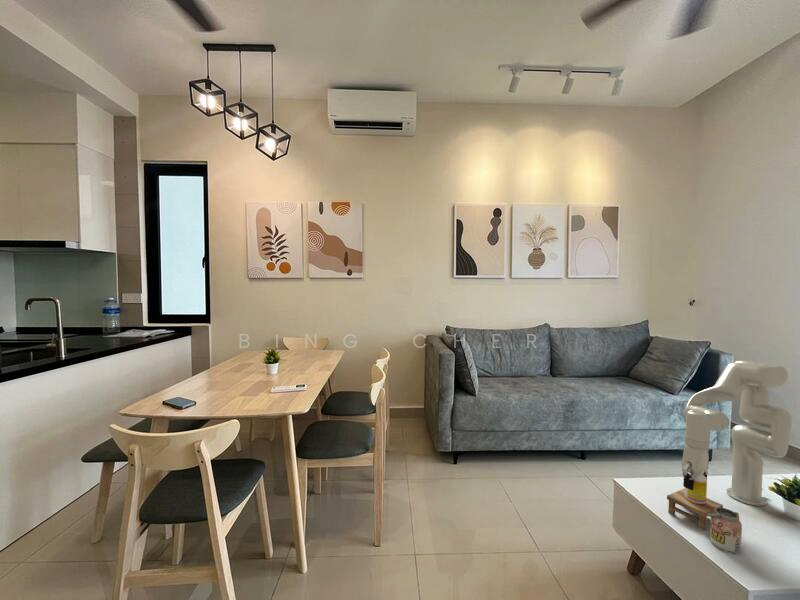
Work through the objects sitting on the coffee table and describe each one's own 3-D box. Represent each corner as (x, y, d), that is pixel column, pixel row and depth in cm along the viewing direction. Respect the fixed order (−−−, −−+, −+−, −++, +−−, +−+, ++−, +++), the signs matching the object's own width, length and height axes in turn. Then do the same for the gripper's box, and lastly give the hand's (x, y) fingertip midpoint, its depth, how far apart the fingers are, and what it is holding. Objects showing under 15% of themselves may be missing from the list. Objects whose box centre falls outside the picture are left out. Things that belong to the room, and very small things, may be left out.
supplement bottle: (710, 506, 140) (711, 473, 140) (690, 503, 141) (691, 471, 141) (699, 496, 147) (700, 465, 146) (680, 494, 148) (682, 463, 148)
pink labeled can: (700, 536, 133) (701, 504, 132) (721, 535, 134) (722, 503, 133) (725, 555, 124) (727, 520, 123) (747, 553, 124) (749, 519, 124)
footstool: (684, 504, 153) (684, 488, 153) (722, 522, 141) (723, 505, 141) (666, 512, 147) (666, 495, 147) (704, 531, 135) (705, 513, 135)
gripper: (697, 436, 151) (695, 476, 151) (673, 442, 143) (672, 485, 143) (719, 443, 144) (717, 485, 144) (696, 450, 136) (694, 495, 137)
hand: (695, 485), depth 144 cm, fingers open, 9 cm apart
